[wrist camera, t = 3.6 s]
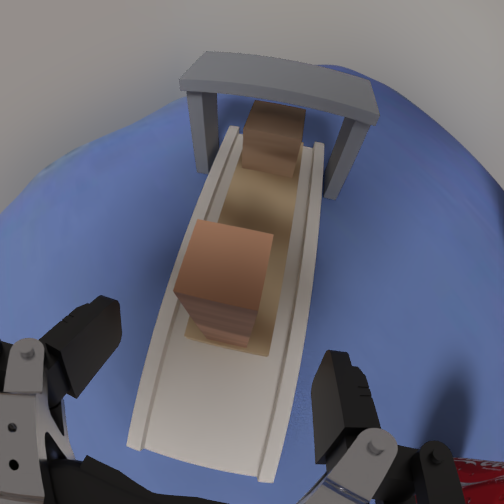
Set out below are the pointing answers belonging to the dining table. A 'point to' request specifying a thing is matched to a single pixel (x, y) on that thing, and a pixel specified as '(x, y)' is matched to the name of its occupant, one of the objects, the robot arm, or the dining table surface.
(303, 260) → the lane board
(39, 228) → the dining table surface
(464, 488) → the soda can
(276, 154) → the walnut cube
